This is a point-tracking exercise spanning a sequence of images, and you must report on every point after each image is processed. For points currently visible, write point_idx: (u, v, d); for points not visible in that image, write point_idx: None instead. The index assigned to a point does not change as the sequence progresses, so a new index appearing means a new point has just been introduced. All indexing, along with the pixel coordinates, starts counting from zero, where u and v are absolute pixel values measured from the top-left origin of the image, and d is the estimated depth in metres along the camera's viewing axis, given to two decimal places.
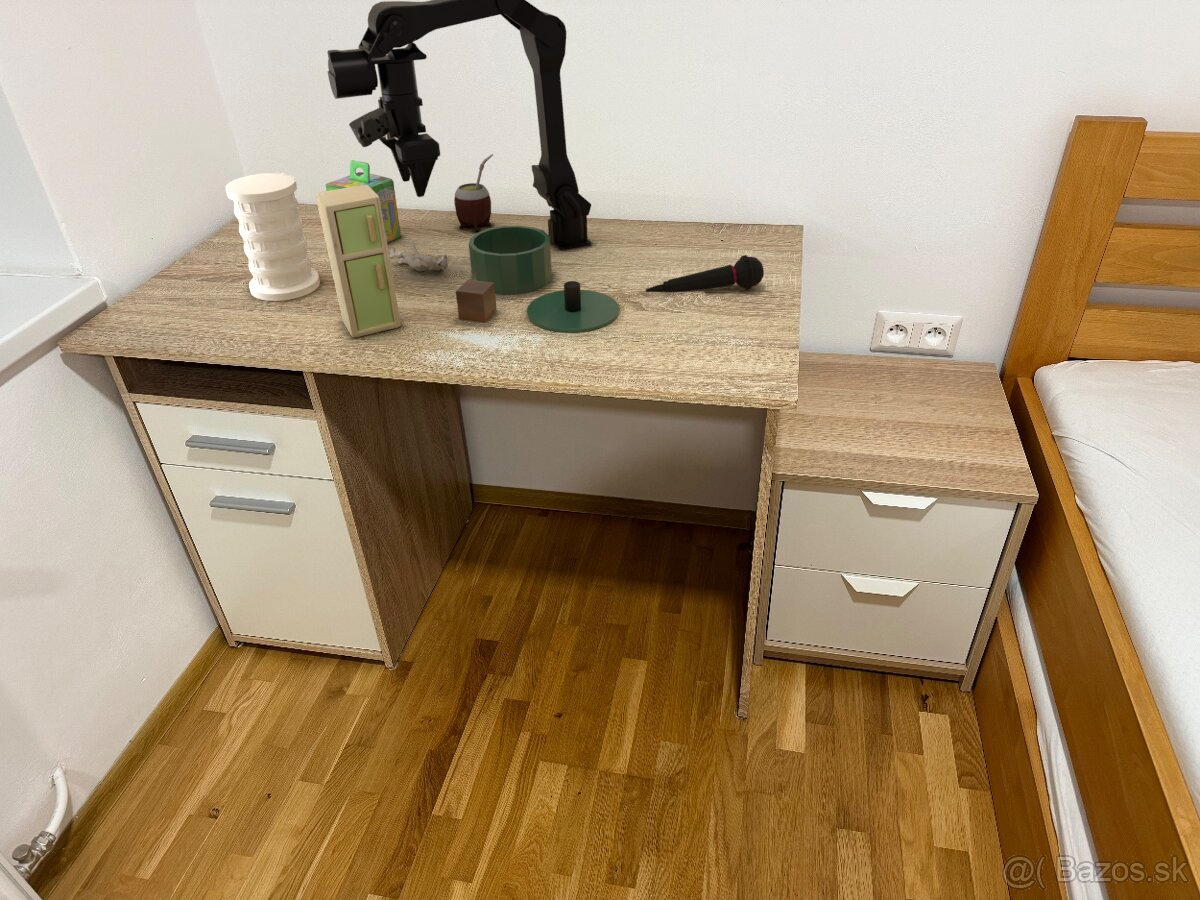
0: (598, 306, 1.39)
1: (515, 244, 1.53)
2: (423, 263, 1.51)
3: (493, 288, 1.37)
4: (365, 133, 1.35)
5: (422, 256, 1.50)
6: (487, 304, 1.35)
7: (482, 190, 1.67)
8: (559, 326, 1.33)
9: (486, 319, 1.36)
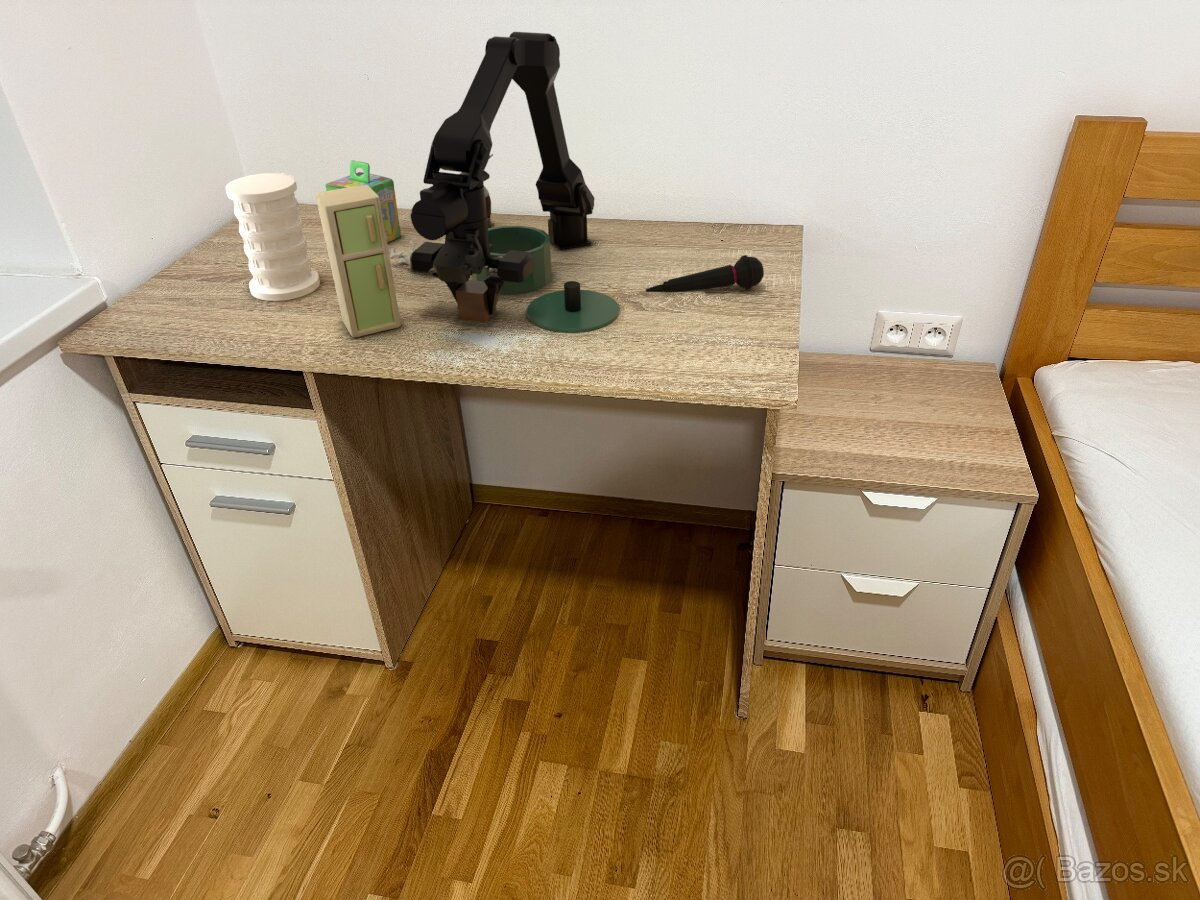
0: (598, 306, 1.39)
1: (515, 244, 1.53)
2: None
3: None
4: (477, 267, 1.25)
5: None
6: (487, 304, 1.35)
7: None
8: (559, 326, 1.33)
9: (486, 319, 1.36)
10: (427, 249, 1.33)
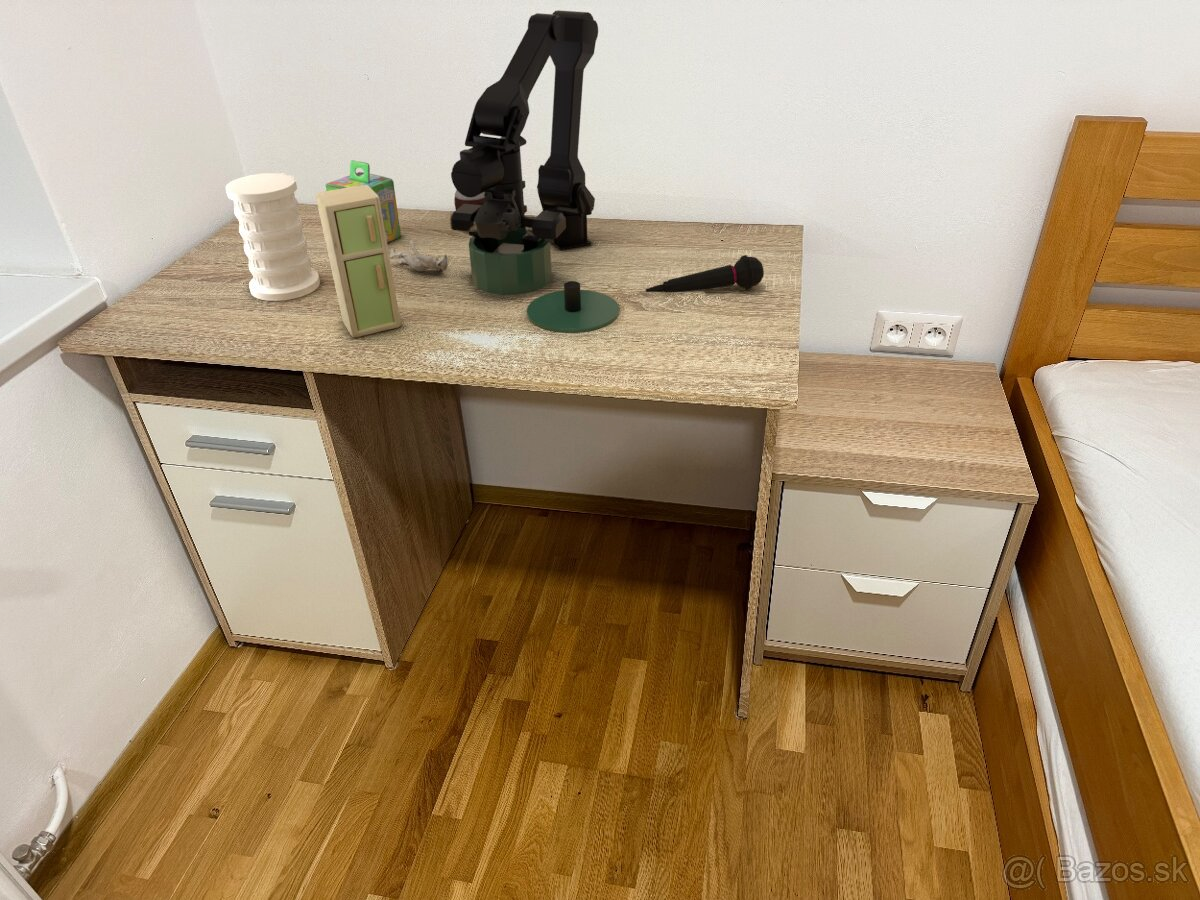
0: (598, 306, 1.39)
1: None
2: (423, 263, 1.51)
3: None
4: (514, 224, 1.36)
5: (422, 256, 1.50)
6: None
7: None
8: (559, 326, 1.33)
9: None
10: (466, 210, 1.44)
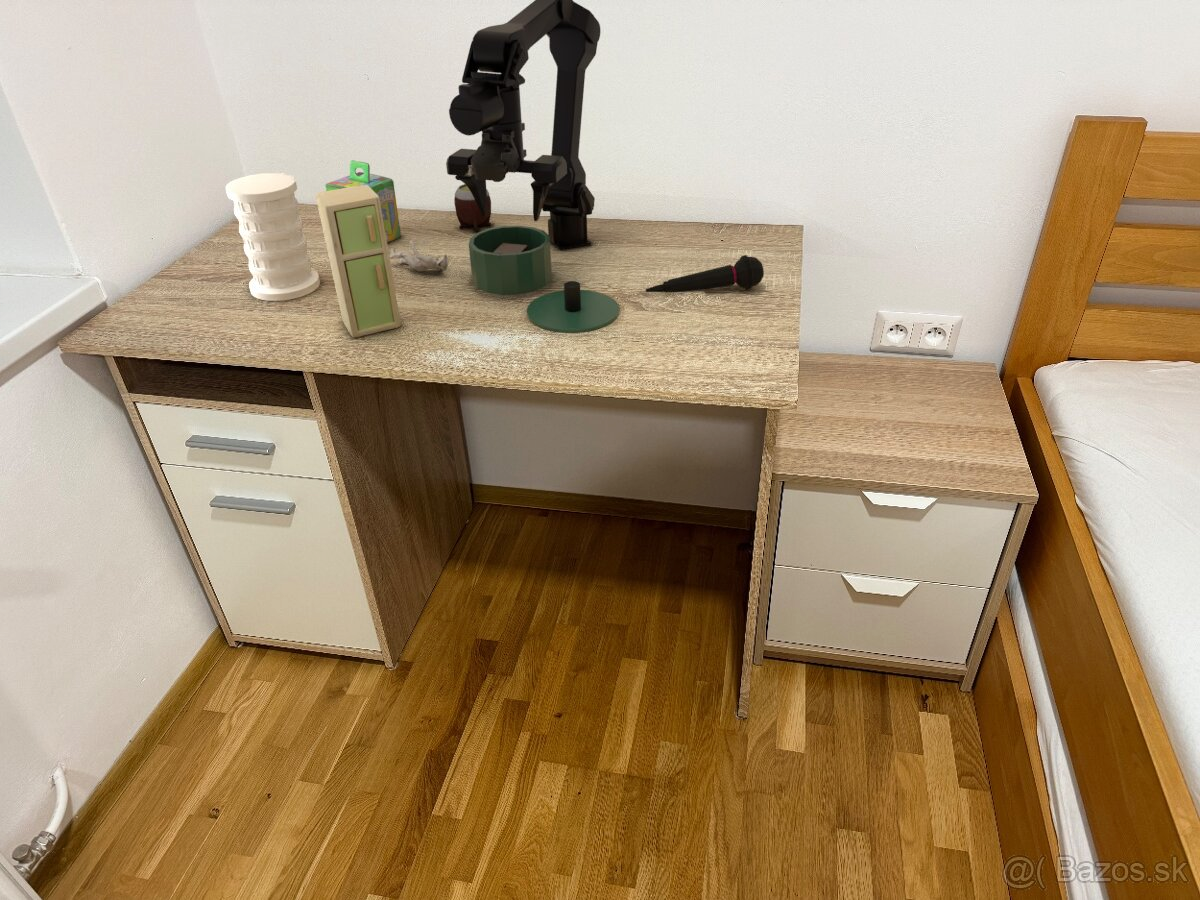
0: (598, 306, 1.39)
1: None
2: (423, 263, 1.51)
3: None
4: (513, 165, 1.30)
5: (422, 256, 1.50)
6: None
7: None
8: (559, 326, 1.33)
9: None
10: (463, 154, 1.38)
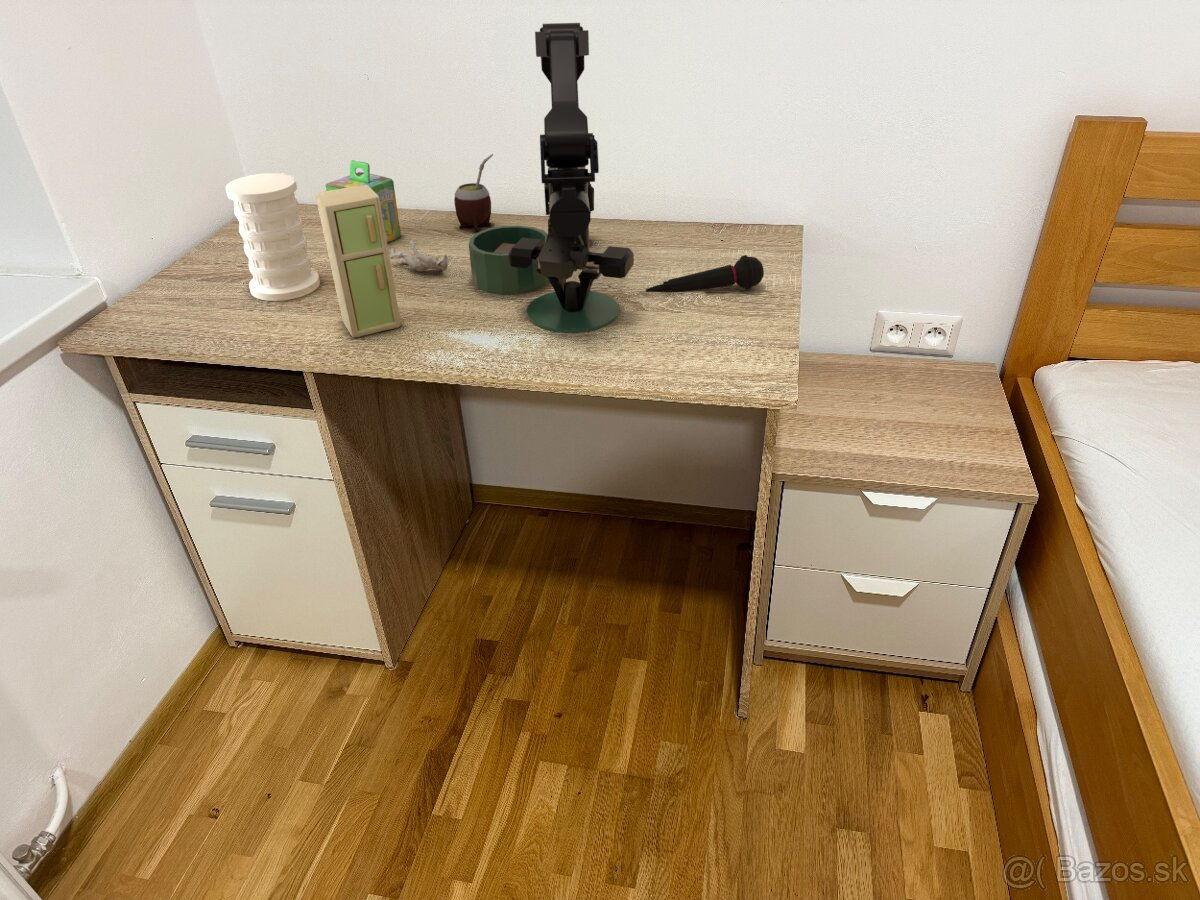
0: (598, 306, 1.39)
1: None
2: (423, 263, 1.51)
3: None
4: (582, 262, 1.25)
5: (422, 256, 1.50)
6: None
7: (482, 190, 1.67)
8: (559, 326, 1.33)
9: None
10: (526, 245, 1.33)
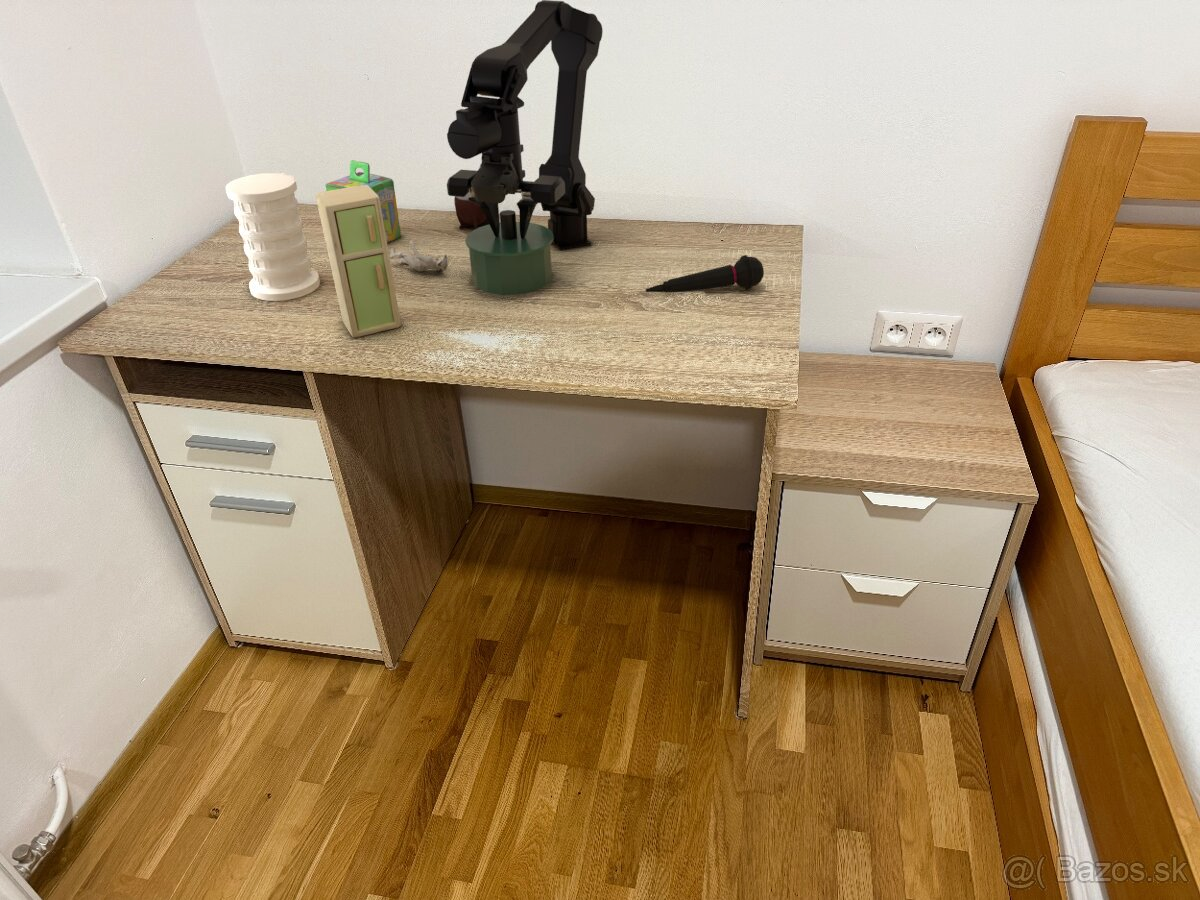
0: (533, 235, 1.46)
1: None
2: (423, 263, 1.51)
3: None
4: (512, 187, 1.33)
5: (422, 256, 1.50)
6: None
7: None
8: (494, 251, 1.40)
9: None
10: (463, 175, 1.41)
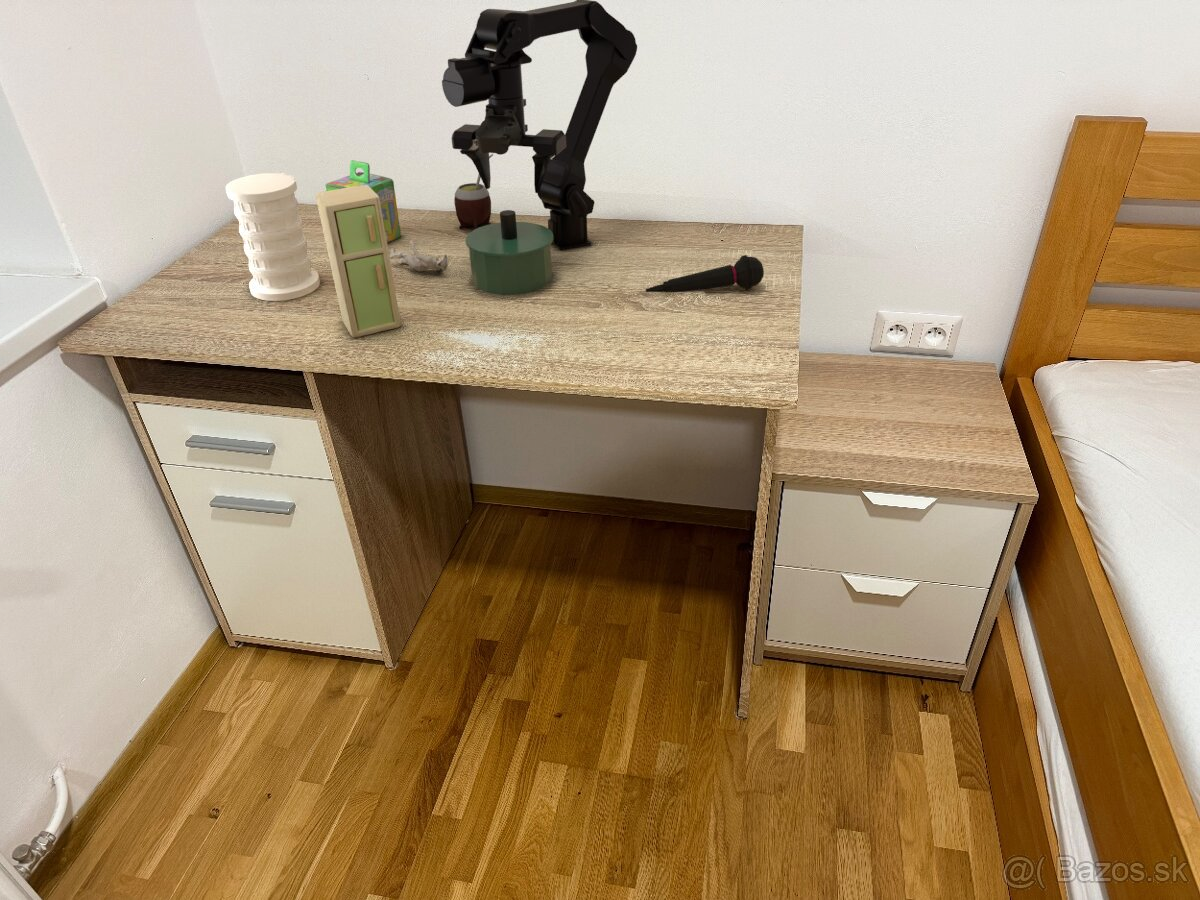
0: (533, 235, 1.46)
1: None
2: (423, 263, 1.51)
3: None
4: (515, 138, 1.37)
5: (422, 256, 1.50)
6: None
7: (482, 190, 1.67)
8: (494, 251, 1.40)
9: None
10: (467, 129, 1.45)
